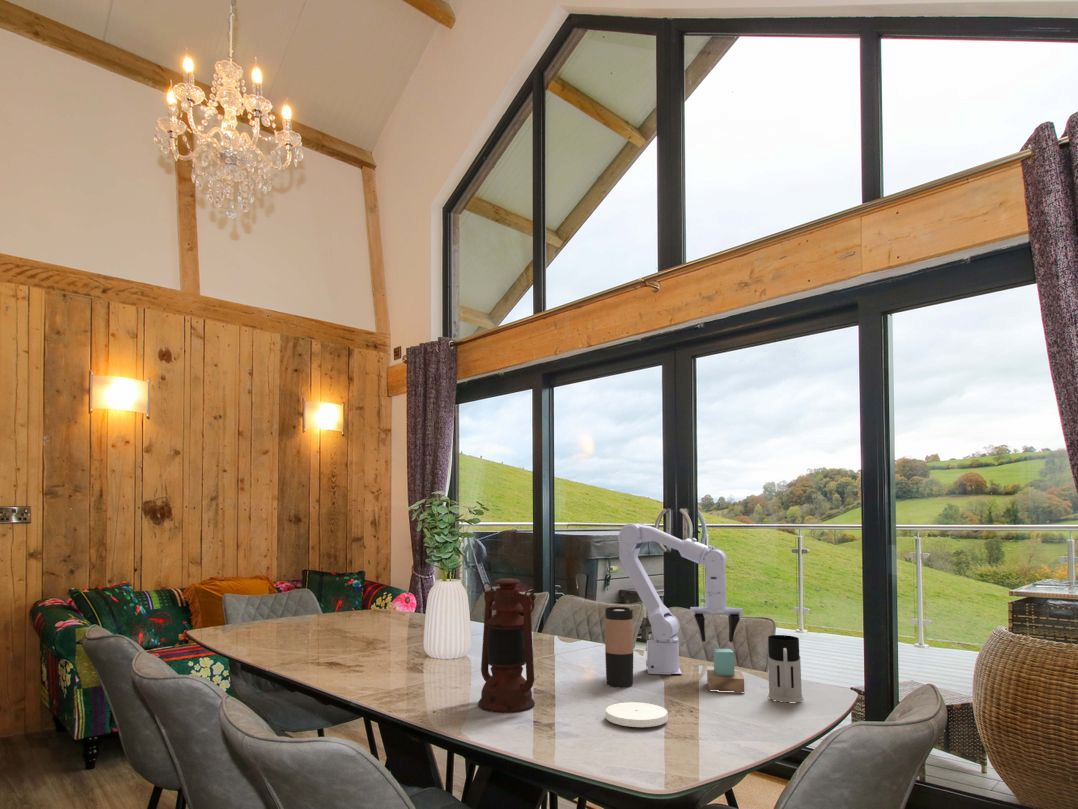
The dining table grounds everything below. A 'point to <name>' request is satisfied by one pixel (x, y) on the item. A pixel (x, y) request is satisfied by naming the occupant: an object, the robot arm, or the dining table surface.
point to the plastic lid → (636, 714)
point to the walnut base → (725, 681)
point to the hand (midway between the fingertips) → (717, 641)
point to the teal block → (724, 662)
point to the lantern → (507, 649)
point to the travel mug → (619, 646)
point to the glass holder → (784, 668)
